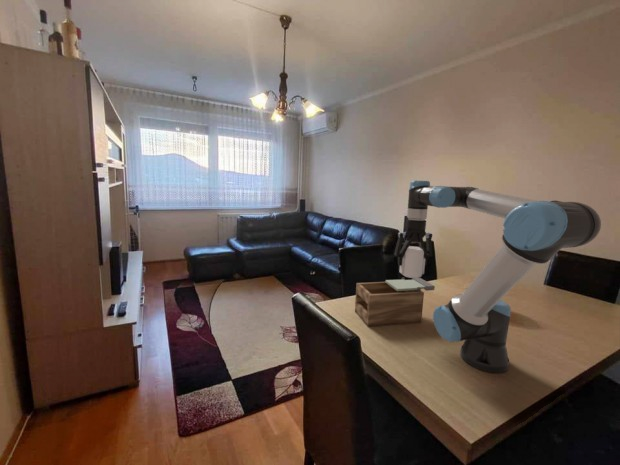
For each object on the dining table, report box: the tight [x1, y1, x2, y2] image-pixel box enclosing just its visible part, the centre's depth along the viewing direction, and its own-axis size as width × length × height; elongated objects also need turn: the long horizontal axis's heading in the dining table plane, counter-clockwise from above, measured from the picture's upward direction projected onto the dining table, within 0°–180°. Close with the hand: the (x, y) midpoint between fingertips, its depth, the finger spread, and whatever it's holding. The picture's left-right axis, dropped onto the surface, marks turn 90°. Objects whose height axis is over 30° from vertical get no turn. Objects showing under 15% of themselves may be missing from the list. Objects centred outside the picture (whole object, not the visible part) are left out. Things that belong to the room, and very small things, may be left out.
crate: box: [354, 276, 425, 328], centre depth 137 cm, size 16×26×16 cm, turn 102°
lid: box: [384, 277, 436, 292], centre depth 138 cm, size 12×18×2 cm, turn 102°
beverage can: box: [401, 245, 424, 279], centre depth 122 cm, size 8×8×12 cm
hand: (411, 272), depth 123 cm, fingers closed on beverage can, 8 cm apart
